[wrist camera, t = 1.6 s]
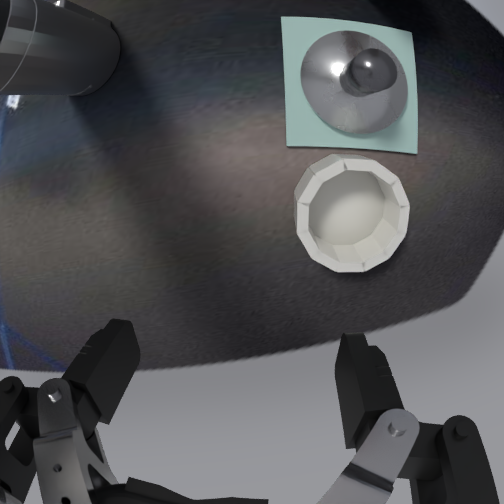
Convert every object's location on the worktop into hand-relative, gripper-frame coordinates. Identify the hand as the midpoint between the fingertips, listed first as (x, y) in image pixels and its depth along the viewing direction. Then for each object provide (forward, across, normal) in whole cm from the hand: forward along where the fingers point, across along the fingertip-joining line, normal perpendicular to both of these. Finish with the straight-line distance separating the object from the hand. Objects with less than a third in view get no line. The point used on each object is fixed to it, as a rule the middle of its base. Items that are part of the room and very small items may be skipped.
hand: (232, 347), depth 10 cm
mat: (+22, -9, -13) cm, 27 cm away
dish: (+22, -9, 0) cm, 23 cm away
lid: (+21, -9, -13) cm, 27 cm away
